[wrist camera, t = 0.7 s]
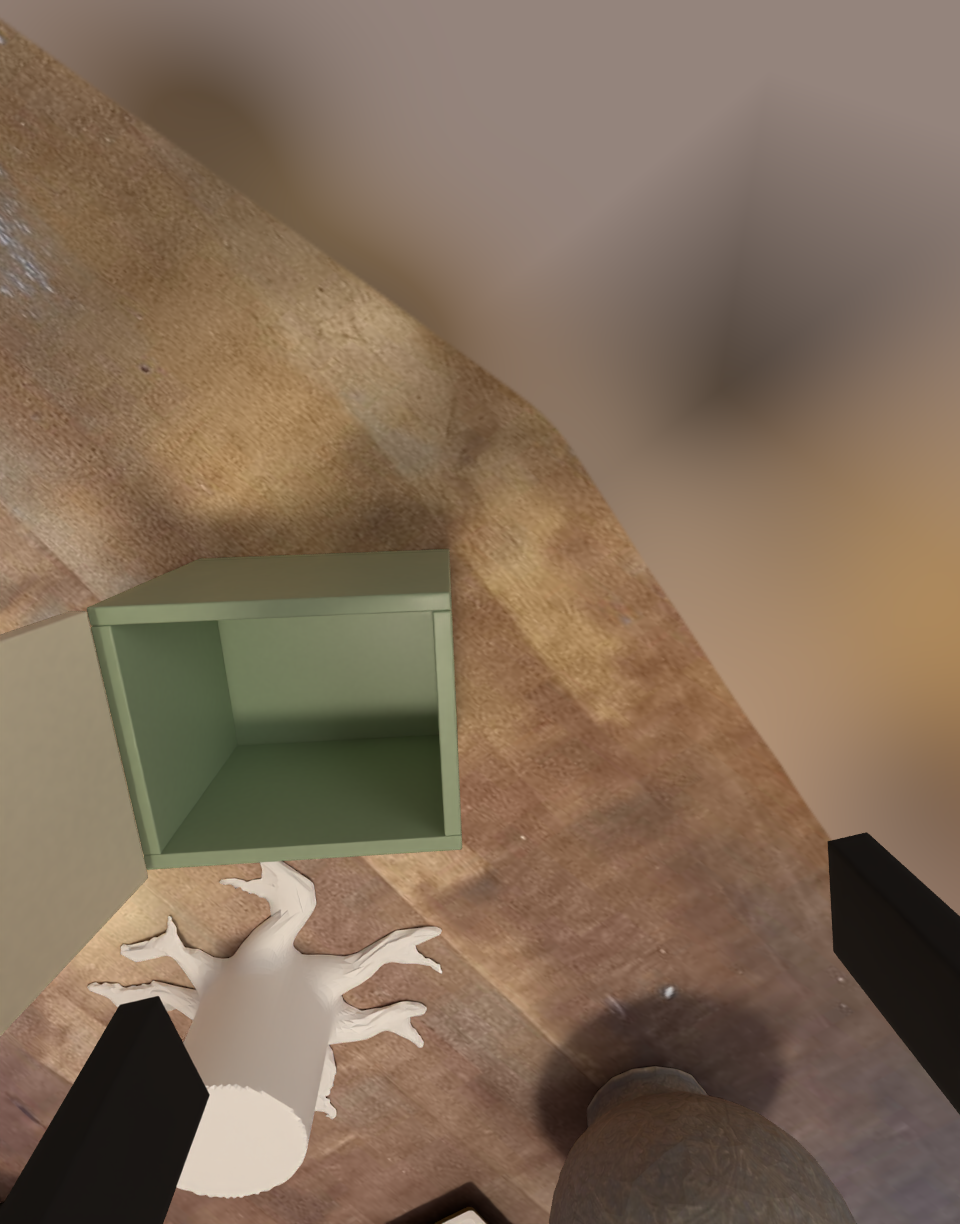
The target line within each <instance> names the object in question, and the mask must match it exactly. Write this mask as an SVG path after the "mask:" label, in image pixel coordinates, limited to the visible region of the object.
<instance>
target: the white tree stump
mask: <svg viewBox="0 0 960 1224" xmlns="http://www.w3.org/2000/svg"><path fill="white" fill-rule="evenodd" d="M259 863H260V864H261V867H262V878H261V879H256V880H251V881H249V882H246V881H244V880H239V879H236V878H233V879H225V880H224V879H222V880H221V881H219V883H221V884H223V885H229V884H231V885H233V886H234V887H235V889H236V888H238V887H241V888H242V891H247V892H248V893H249V894H251V893H254V894H256V895H258V896H259V897H263V898H265V899H266V900H267V901H268V902H269V904H270V911H271V917H270V918H268V919H267V920H266V921H264V922H263V923H262V924H261V925H259V926H258V927H257V928H255V929H254V930H253V932H252V933H251V934H250V935H249V936H248V938H247V939H246V940H245V941H244V942H243V943H242V944H241V946H240V947H239V949H238V950H237V952H236V953H235V954H234V955H233V956H232V957H230V958H224V959H222V958H216V957H212V956H211V955H209V954H207V953H205V952H203V951H201V950H200V949H191V948H188V947H186V948H185V947H184V946H183V943H182V942H181V941H180V939H179V937H178V935H177V929H176V926H175V925H174V923H173V922H172V921H171V920H172V917H170V916H168V923H167V924H168V928H167V930H166V933H164V934H162V935H161V936H159V937H153V938H152V939H151V940H150V941H145V942H141V943H136V944H132V945H126V944H123V945H122V946H121V947H120V948H121V955H123V956H125V957H127V958H129V959H131V960H133V961H135V962H140V961H145V960H149V959H154V958H158V957H162V956H170V957H172V958H174V959H175V960H176V962H177V963H178V964H179V965H180V967H181V968H182V969H183V971H184V972H185V974H186V975H187V977H188V978H189V979H190V981H191V982H192V984H193V985H194V987H195V989H196V990H194V989H188V988H183V987H178V986H173V985H170V984H166V983H162V982H156V981H154V980H153V981H152V982H151V984H149V985H146V984H142V985H141V986H135V985H134V986H131V987H127V988H125V987H122V986H121V985H120V984H119V983H115V984H109V983H106V982H105V983H103V984H102V985H100V984H98V983H96V982H94V983H91V984H90V985H88V986H87V987H88V989H89V990H90V991H91V992H94V993H97V994H100V995H103V996H106V997H107V998H109V999H110V1000H111V1001H112V1002H113V1003H114V1004H115V1005H116V1006H117V1007H119V1005H121V1004H125V1003H129V1002H134V1001H138V1000H142V999H147V998H151V997H155V996H159V997H160V999H161V1001H162V1003H163V1005H164V1007H165V1009H166V1011H171V1010H174V1009H177V1010H179V1011H180V1012H182V1013H183V1014H185V1015H186V1016H187V1017H189V1018H190V1019H192V1020H193V1022H192V1024H191V1026H190V1029H189V1031H188V1033H187V1035H186V1038H185V1040H184V1042H183V1044H184V1046H185V1048H186V1050H187V1052H188V1054H189V1056H190V1057H191V1059H192V1061H193V1063H194V1065H195V1067H196V1069H197V1071H198V1073H199V1075H200V1077H201V1079H202V1081H203V1083H204V1085H205V1087H206V1088H207V1090H208V1092H209V1094H210V1096H209V1099H208V1101H207V1104H206V1107H205V1110H204V1112H203V1115H202V1118H201V1121H200V1123H199V1126H198V1129H197V1132H196V1134H195V1137H194V1140H193V1143H192V1145H191V1148H190V1151H189V1154H188V1156H187V1159H186V1162H185V1165H184V1167H183V1170H182V1173H181V1176H180V1178H179V1181H178V1184H177V1188H180V1189H182V1190H187V1191H193V1192H194V1193H195V1194H197V1195H208V1196H209V1197H214V1196H217V1197H220V1198H221V1197H226V1198H227V1199H228V1198H230V1197H231V1196H232V1197H233V1198H236V1197H237V1196H239V1197H241V1198H242V1197H243V1196H244V1195H247V1196H249V1195H251V1194H259V1193H260V1192H261V1191H269V1190H271V1189H272V1188H273V1186H277V1185H280V1184H282V1183H284V1182H285V1181H287V1180H288V1179H289V1178H290V1177H291V1176H293V1174H294V1173H295V1172H296V1170H297V1169H298V1167H300V1165H301V1164H302V1162H303V1160H304V1157H305V1155H306V1151H307V1147H308V1142H309V1136H310V1131H311V1126H312V1121H313V1116H314V1111H322V1112H325V1113H326V1114H328V1115H326V1117H330V1118H331V1119H334V1118H335V1117H336V1109H335V1108H334V1107H333V1106H332V1105H331V1104H330V1100H329V1099H327V1098H326V1097H325V1096H328V1095H329V1094H330V1089H331V1087H333V1086H334V1084H333V1081H334V1075H335V1074H336V1067H335V1062H334V1055H333V1051H332V1049H331V1048H330V1046H329V1045H331V1044H336V1043H344V1042H354V1041H360V1040H365V1039H368V1038H370V1037H373V1036H375V1035H376V1034H378V1033H380V1032H383V1031H390V1032H394V1033H396V1034H398V1035H400V1036H402V1037H404V1038H406V1039H409V1040H410V1041H412V1042H413V1043H414V1044H416V1045H417V1046H418V1047H419V1048H421V1047H423V1044H424V1041H423V1040H422V1039H421V1036H420V1035H418V1032H417V1031H416V1029H414V1028H412V1025H411V1023H410V1021H411V1019H410V1017H413V1016H420V1015H423V1014H424V1013H425V1012H426V1010H427V1007H425V1006H424V1005H423V1004H421V1003H419V1002H412V1001H403V1002H399V1003H395V1004H392V1005H390V1006H386V1007H383V1008H374V1009H369V1010H364V1011H361V1010H359V1009H357V1008H355V1007H352V1006H350V1005H348V1004H347V1003H345V1002H344V1001H343V998H342V994H344V993H346V992H347V991H349V990H350V989H352V988H354V987H356V986H358V985H360V984H361V983H363V982H364V981H365V980H367V979H368V978H370V977H371V976H372V975H373V974H374V973H375V972H376V971H377V970H378V969H379V968H380V967H381V966H382V965H383V964H385V963H390V962H397V963H403V964H422V965H427V966H431V967H432V968H433V969H434V970H436V971H437V972H439V973H441V974H442V970H441V968H440V964H436V963H435V962H434V961H432V960H431V959H429V958H425V957H424V956H423V955H422V954H420V953H418V951H417V950H416V945H418V944H420V943H422V942H425V941H427V940H429V939H431V938H433V937H436V936H438V935H440V934H441V931H442V930H441V929H440V928H438V927H434V926H425V927H422V928H415V929H406V930H398V931H395V932H393V933H391V934H389V935H388V936H386V937H385V938H382V939H380V940H378V941H377V942H375V943H373V944H372V945H370V946H368V947H367V948H365V949H363V950H362V951H360V952H358V953H356V954H352V955H348V956H336V955H305V954H301V953H300V952H299V951H298V950H296V949H295V947H294V946H293V942H294V939H295V937H296V935H297V934H298V932H299V931H300V930H301V928H302V927H303V926H304V924H305V923H306V921H307V920H308V918H309V917H310V915H311V914H312V912H313V910H314V908H315V906H316V904H317V903H316V896H315V889H314V884H313V883H312V882H311V881H310V880H309V879H307V878H306V877H304V876H303V875H301V874H300V873H299V872H297V871H296V870H294V869H293V868H291V867H290V866H288V865H287V864H286V863H284V862H283V861H275V862H259Z"/></svg>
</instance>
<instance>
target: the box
mask: <svg viewBox="0 0 960 1224" xmlns="http://www.w3.org/2000/svg"><path fill="white" fill-rule="evenodd" d="M87 612H88V617H89V621H90V625H91V626H92V627H91V630H92V635H93V639H94V643H95V648H96V652H97V656H98V661H99V665H100V669H101V674H102V678H103V682H104V687H105V691H106V695H107V700H108V704H109V708H110V713H111V717H112V721H113V725H114V730H115V734H116V738H117V743H118V747H119V751H120V756H121V760H122V764H123V769H124V773H125V777H126V782H127V786H128V790H129V795H130V799H131V803H132V808H133V812H134V816H135V821H136V825H137V829H138V833H139V838H140V842H141V846H142V851H143V854H144V861H145V865H146V869H147V870H150V869H166V868H181V867H197V866H213V865H228V864H244V863H259V862H275V861H291V860H306V859H322V858H337V857H353V856H368V855H384V854H400V853H415V852H431V851H446V850H461V849H462V834H461V810H460V785H459V760H458V736H457V713H456V691H455V668H454V646H453V623H452V601H451V578H450V556H449V549H434V550H408V551H381V552H355V553H329V554H303V555H277V556H251V557H225V558H200V559H198V560H195V561H193V562H191V563H189V564H186V565H184V566H182V567H179V568H177V569H175V570H173V571H170V572H168V573H166V574H163V575H161V576H159V577H157V578H154V579H152V580H150V581H147V582H145V583H143V584H140V585H138V586H136V587H134V588H131V589H129V590H127V591H124V592H122V593H120V594H118V595H115V596H113V597H111V598H108V599H106V600H104V601H101V602H99V603H97V604H95V605H92V606H90V607H88V608H87Z"/></svg>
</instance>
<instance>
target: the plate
mask: <svg viewBox="0 0 960 1224" xmlns="http://www.w3.org/2000/svg"><path fill="white" fill-rule="evenodd" d="M434 1224H488V1223H487V1222H486V1221H485V1220H484V1219H483V1218H482V1217H481V1216H480V1215H479V1214H478V1212H477V1211H476V1210H475V1209H474V1208H473V1207H467V1208H465V1209H462V1210H460V1211H458V1212H456V1213H454V1214H452V1215H450V1216H448V1217H446V1218H444V1219H442V1220H440V1221H438V1222H436V1223H434Z"/></svg>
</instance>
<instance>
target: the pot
mask: <svg viewBox="0 0 960 1224" xmlns="http://www.w3.org/2000/svg"><path fill="white" fill-rule="evenodd" d="M587 1124H588V1129H587V1130H586V1131H585V1132H584V1133H583V1134H582V1135H581V1136H580V1137H579V1138H578V1139H577V1141H576V1142H575V1144H574V1145H573V1146H572V1148H571V1150H570V1152H569V1154H568V1156H567V1159H566V1161H565V1163H564V1165H563V1168H562V1170H561V1172H560V1176H559V1180H558V1183H557V1186H556V1188H555V1191H554V1195H553V1201H552V1206H551V1212H550V1218H549V1224H857V1223H856V1221H855V1220H854V1218H853V1216H852V1214H851V1212H850V1210H849V1208H848V1206H847V1204H846V1202H845V1201H844V1199H843V1197H842V1195H841V1194H840V1192H839V1191H838V1190H837V1188H836V1187H835V1186H834V1184H833V1183H832V1182H831V1180H830V1179H829V1177H828V1176H827V1175H826V1173H825V1172H824V1171H823V1169H822V1168H821V1166H820V1165H819V1164H818V1162H817V1161H816V1160H815V1158H814V1157H813V1156H812V1155H811V1154H810V1153H809V1152H808V1151H807V1150H806V1149H805V1148H804V1147H803V1146H802V1145H801V1144H800V1143H799V1142H798V1141H797V1140H796V1139H795V1138H793V1137H792V1136H790V1135H789V1134H788V1133H786V1132H785V1131H783V1130H782V1129H781V1128H779V1127H778V1126H777V1125H775V1124H774V1123H772V1122H771V1121H769V1120H768V1119H766V1118H765V1117H763V1116H762V1115H760V1114H758V1113H757V1112H754V1111H752V1110H750V1109H748V1108H746V1107H744V1106H742V1105H739V1104H736V1103H733V1102H730V1101H727V1100H724V1099H722V1098H717V1097H712V1096H707V1094H706V1092H705V1091H704V1089H703V1088H702V1087H701V1086H700V1085H699V1083H698V1082H697V1081H696V1080H695V1079H694V1078H693V1076H692V1075H690V1074H688V1073H686V1072H683V1071H681V1070H678V1069H673V1068H665V1067H658V1066H653V1067H645V1068H637V1069H631V1070H629V1071H627V1072H624V1073H622V1074H620V1075H617V1076H615V1077H613V1078H611V1079H610V1080H609V1081H608V1082H607V1083H606V1084H605V1085H604V1086H603V1087H602V1088H601V1089H600V1090H598V1092H597V1093H596V1095H595V1096H594V1098H593V1099H592V1101H591V1103H590V1104H589V1106H588V1107H587Z"/></svg>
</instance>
